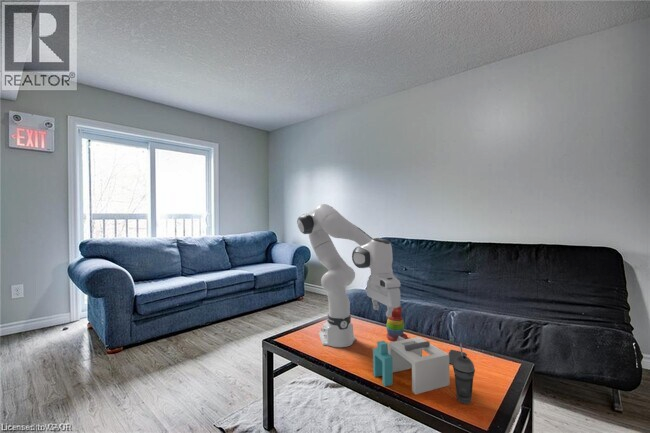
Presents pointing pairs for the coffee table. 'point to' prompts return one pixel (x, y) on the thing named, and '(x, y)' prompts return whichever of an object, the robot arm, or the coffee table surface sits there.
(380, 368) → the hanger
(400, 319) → the stacking bear
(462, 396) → the beverage cup
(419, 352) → the shelf
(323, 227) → the robot arm
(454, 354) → the smartphone
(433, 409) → the coffee table surface
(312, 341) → the coffee table surface
